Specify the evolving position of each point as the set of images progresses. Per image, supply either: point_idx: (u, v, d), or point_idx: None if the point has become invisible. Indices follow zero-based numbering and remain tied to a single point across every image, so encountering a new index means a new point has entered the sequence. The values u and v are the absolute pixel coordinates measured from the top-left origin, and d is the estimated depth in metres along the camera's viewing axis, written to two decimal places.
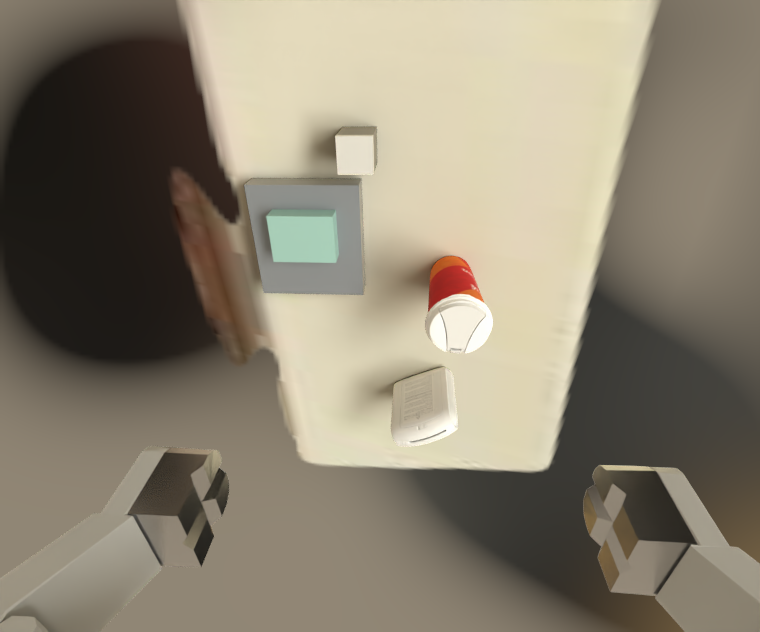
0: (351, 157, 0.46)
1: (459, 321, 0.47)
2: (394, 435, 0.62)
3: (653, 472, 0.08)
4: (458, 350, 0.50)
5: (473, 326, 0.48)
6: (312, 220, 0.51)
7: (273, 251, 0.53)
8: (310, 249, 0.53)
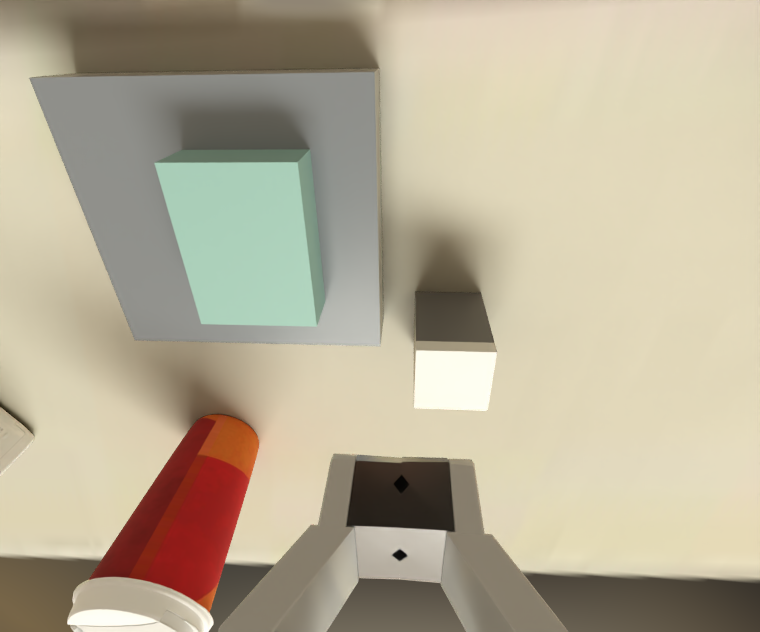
0: (450, 376, 0.22)
1: None
2: None
3: (446, 464, 0.09)
4: None
5: None
6: (301, 283, 0.20)
7: (190, 167, 0.18)
8: (221, 270, 0.20)
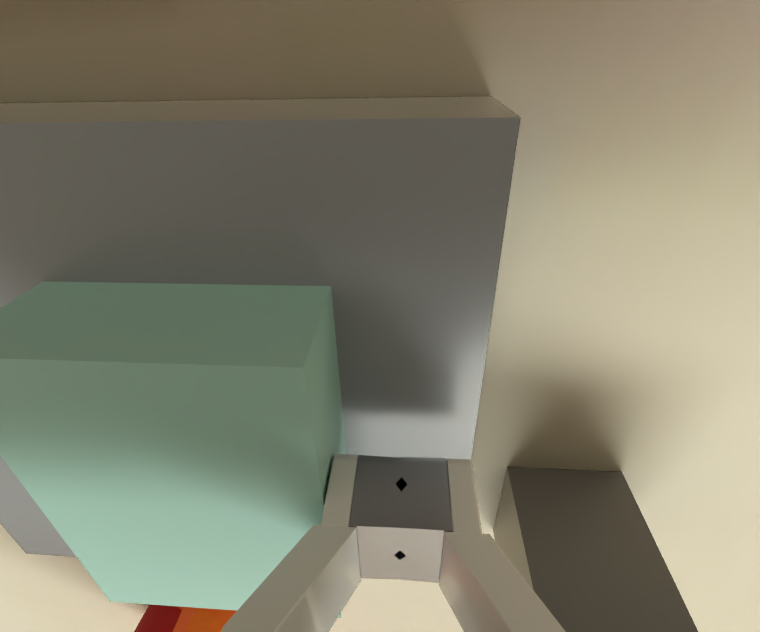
0: None
1: None
2: None
3: (443, 464, 0.09)
4: None
5: None
6: None
7: (21, 369, 0.07)
8: (135, 538, 0.09)
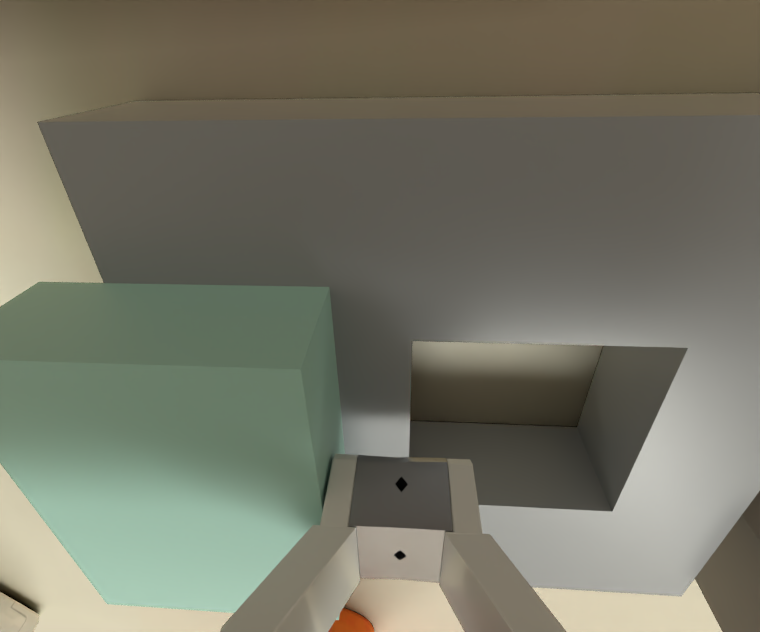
0: None
1: None
2: None
3: (444, 464, 0.09)
4: None
5: None
6: None
7: (17, 371, 0.07)
8: (132, 541, 0.09)
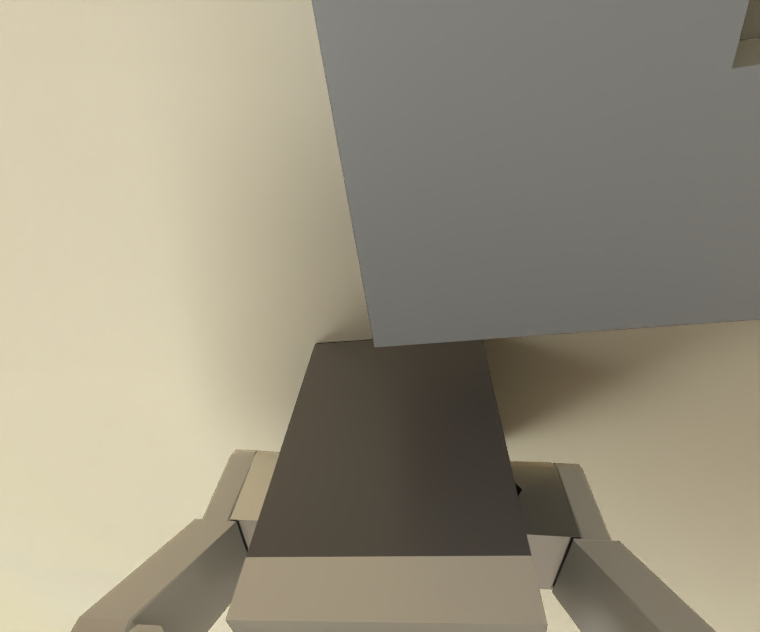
0: None
1: None
2: None
3: (554, 468, 0.08)
4: None
5: None
6: None
7: None
8: None
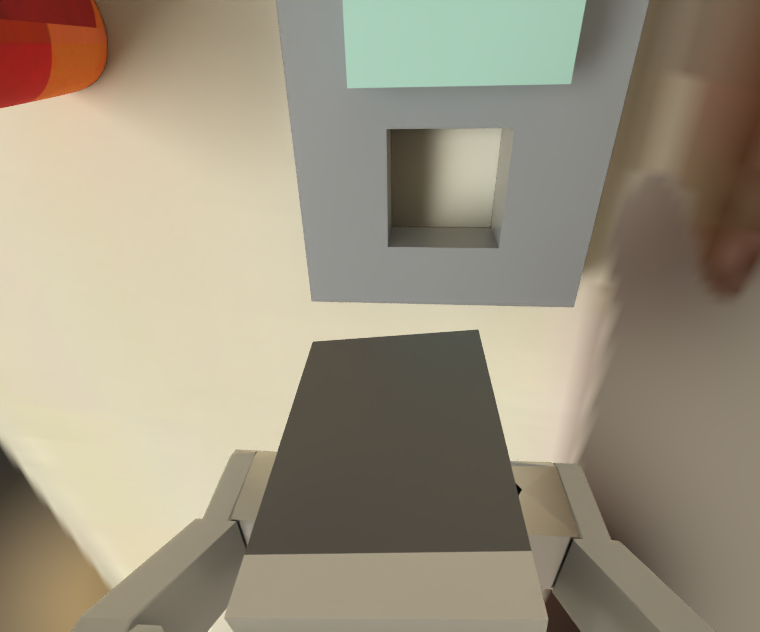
0: None
1: None
2: None
3: (554, 468, 0.08)
4: None
5: None
6: (413, 71, 0.15)
7: None
8: None
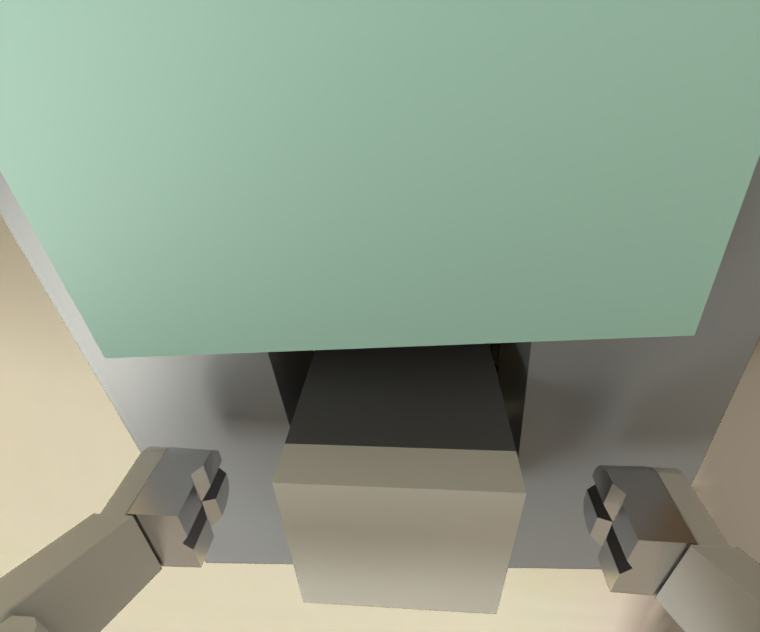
0: (416, 552, 0.08)
1: None
2: None
3: (654, 473, 0.08)
4: None
5: None
6: (259, 323, 0.06)
7: None
8: None
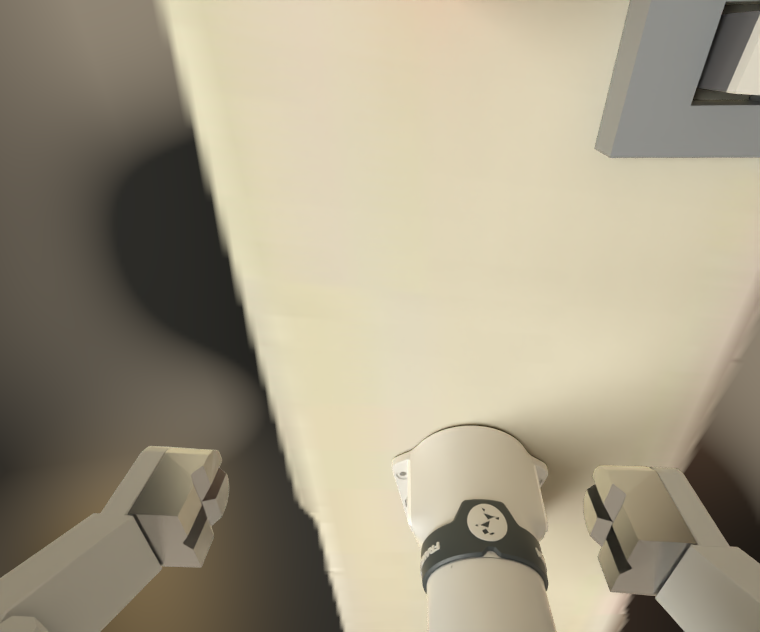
0: None
1: None
2: None
3: (654, 473, 0.08)
4: None
5: None
6: None
7: None
8: None
